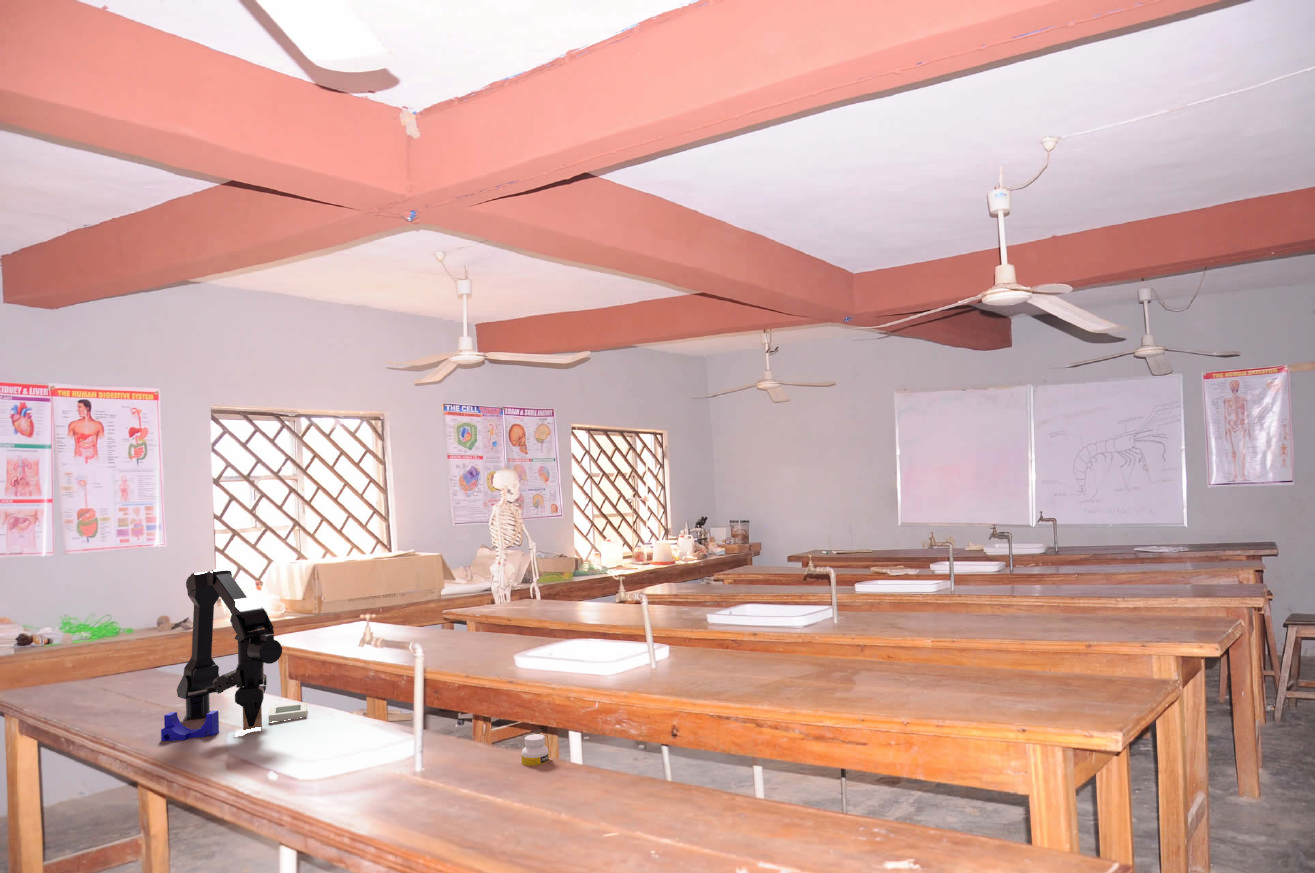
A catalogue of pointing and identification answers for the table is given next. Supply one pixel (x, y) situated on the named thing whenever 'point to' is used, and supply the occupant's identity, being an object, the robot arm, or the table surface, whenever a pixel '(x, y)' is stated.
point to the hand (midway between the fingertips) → (252, 721)
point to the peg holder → (287, 712)
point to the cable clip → (180, 732)
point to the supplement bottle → (534, 750)
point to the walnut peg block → (257, 723)
